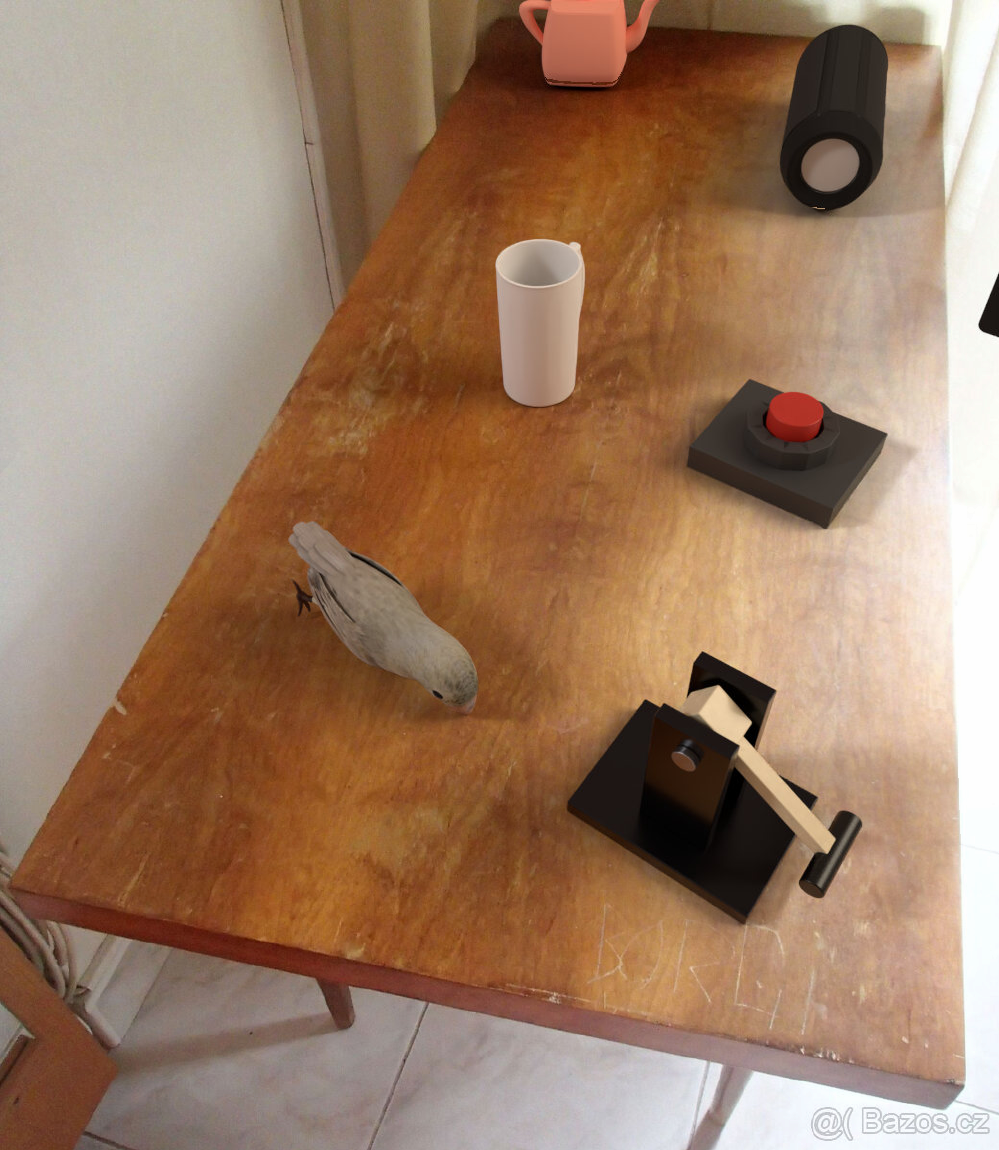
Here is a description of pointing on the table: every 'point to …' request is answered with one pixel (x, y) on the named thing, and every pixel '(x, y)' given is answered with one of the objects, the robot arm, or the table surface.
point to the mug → (539, 319)
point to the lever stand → (692, 796)
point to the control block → (786, 456)
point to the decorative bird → (382, 619)
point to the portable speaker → (836, 118)
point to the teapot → (585, 38)
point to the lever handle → (778, 791)
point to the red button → (794, 417)
